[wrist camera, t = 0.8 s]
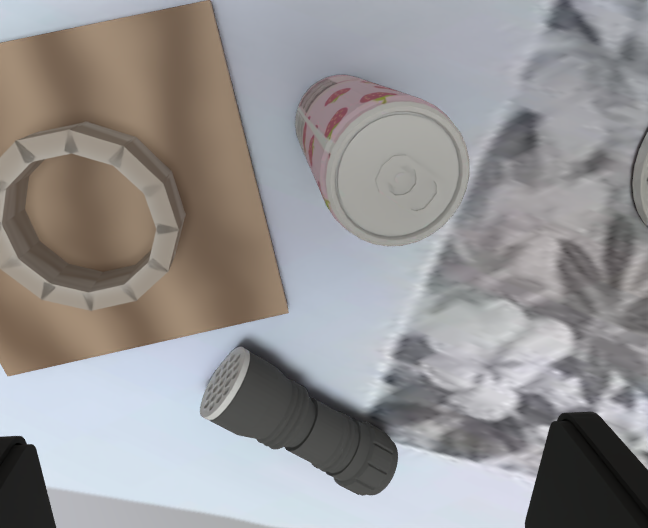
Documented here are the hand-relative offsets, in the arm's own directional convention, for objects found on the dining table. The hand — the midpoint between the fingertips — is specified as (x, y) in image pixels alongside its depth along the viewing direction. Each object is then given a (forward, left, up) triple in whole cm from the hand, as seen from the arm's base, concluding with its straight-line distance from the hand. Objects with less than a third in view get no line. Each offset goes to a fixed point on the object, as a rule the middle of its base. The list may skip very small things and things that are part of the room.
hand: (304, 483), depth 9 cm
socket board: (+11, 0, -25) cm, 28 cm away
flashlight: (+2, +19, -26) cm, 32 cm away
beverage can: (-5, -2, -26) cm, 26 cm away
